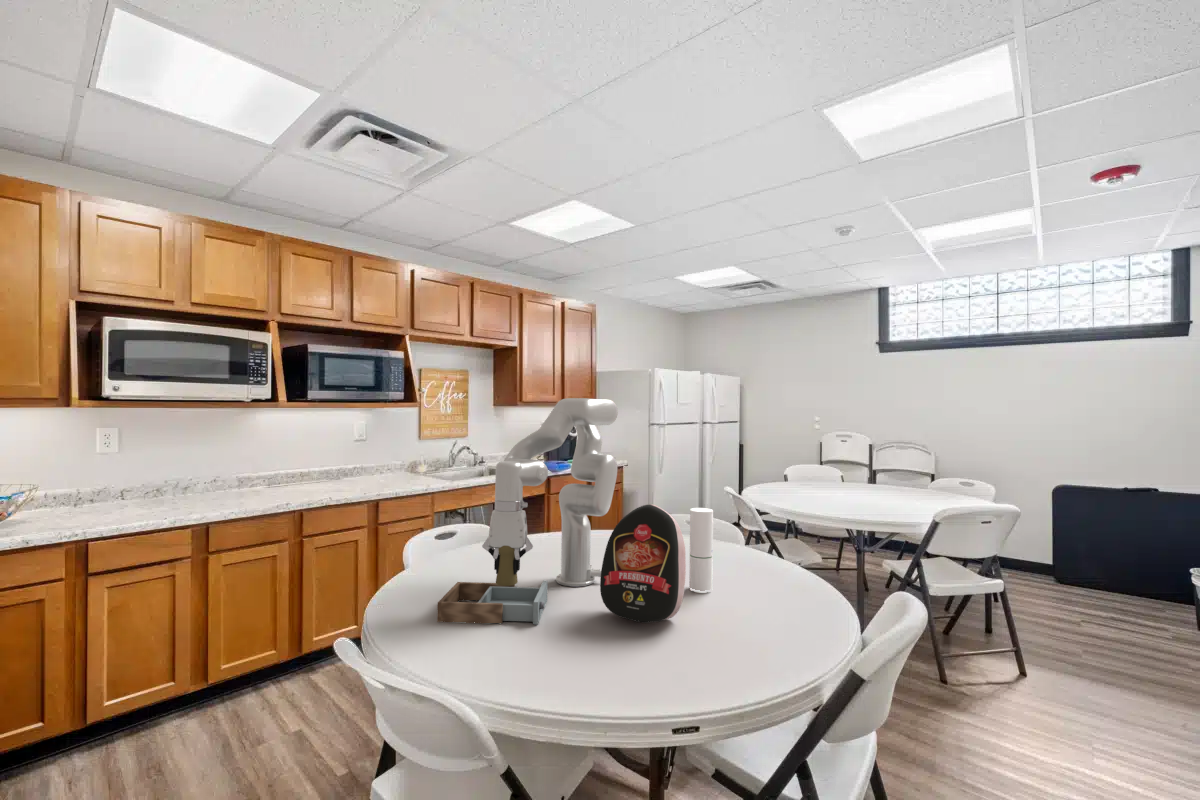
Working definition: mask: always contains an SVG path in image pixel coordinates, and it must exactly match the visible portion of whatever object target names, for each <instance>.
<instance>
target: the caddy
mask: <svg viewBox="0 0 1200 800" xmlns="http://www.w3.org/2000/svg"><path fill="white" fill-rule="evenodd" d="M490 586H497V587H516V584H515V585H510V586H501V585H497V584H496V582H476V581H475V582H472V581H470V582H469V581H457V582H456V583H455V584H454V585H453V586H452V587H451V588H450V589H449V590H448V591H447V592H446V593H445V594H444V595H443V596H442V597H441V599H439V601H437V609H436V612H437V614H436V616H437V617H436V622H437V623H452V622H466V623H465V624H484V623H502V624H503V621H502V618H503V603H478V602H477V600H480V599H481V598H482V596H483V595H484V594H485V592H486V591H487V590H488V588H489V587H490ZM462 600H476V601H462ZM458 601H459V602H458ZM474 622H475V623H474Z"/></svg>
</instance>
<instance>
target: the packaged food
mask: <svg viewBox="0 0 1200 800" xmlns="http://www.w3.org/2000/svg"><path fill="white" fill-rule="evenodd" d="M684 539H685V538H684V536H683V532H682V530H681V527H680V525H679V523H678V522H677V520H676V519H675V518H674V517H673V516H672V515H671V514H670V513H669V512H668V511H666V510H665V509H663V508H662V507H660V506H658V505H656V504H652V503H651V504H649V503H648V504H643V505H640V506H638V507H636V508H635V509H633V510H632V511H630V512H628V513H627V514H626V515H625V516H623V517H622V518H621V519H620V520H619V522H618V523H617V524H616V526H614V529H613V530H612V532H611V534H610V537H609V538H608V541H607V543H606V547H605V550H604V555H603V559H602V565H601V569H600V571H601V577H599V578H600V581H599V582H600V583H599V585H600V586H599V590H600V591H599V592H600V596H601V600H602V602H603V604H604V606H605V607H606V609H607V610H608V611H610V613H613V614H614V615H616V616H618V617H621V618H623V619H626V620H630V621H634V622H639V623H645V624H646V623H657V622H658V623H659V622H661V621H663V620H664V621H665V620H669V619H671V618H673V617H674V616H676V615H677V613H678V612H679V610H680V608H681V607H682V603H683V599H684V593H685V587H686V586H685V584H686V575H687V573H686V572H687V571H686V566H687V565H686V543H685V540H684Z"/></svg>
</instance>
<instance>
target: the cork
mask: <svg viewBox="0 0 1200 800" xmlns="http://www.w3.org/2000/svg"><path fill="white" fill-rule="evenodd" d="M514 551H515V550H514V548H511V547H510V546H502V547H500V548H499V554H500V557H499V570H498V574H496V578H495V583H496V584H497V585H501V586H510V585H515V586H516V584H518V583H519V580H518V572H517V573H516V575H514V571H513V560H514V559H515V553H514Z"/></svg>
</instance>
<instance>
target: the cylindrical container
mask: <svg viewBox="0 0 1200 800" xmlns="http://www.w3.org/2000/svg"><path fill="white" fill-rule="evenodd" d="M713 555H714V510H713V509H711V508H707V507H706V508H705V507H693V508H692V507H691V508H690V509H689V574H688V575H689V577H688V578H689V587H690V588H692V589H695V590H700V591H705V590H710V589H712V590H713V586H714V585H713V580H714V579H713V571H714V570H713V569H714V567H713V566H714V565H713V564H714V561H713V559H714V556H713ZM689 587H688V588H689Z"/></svg>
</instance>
